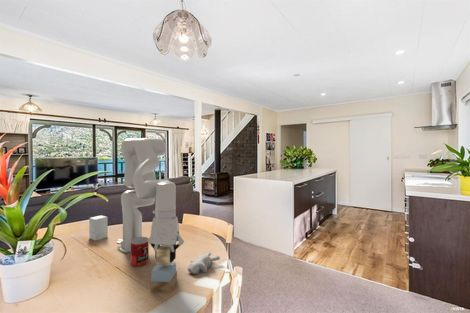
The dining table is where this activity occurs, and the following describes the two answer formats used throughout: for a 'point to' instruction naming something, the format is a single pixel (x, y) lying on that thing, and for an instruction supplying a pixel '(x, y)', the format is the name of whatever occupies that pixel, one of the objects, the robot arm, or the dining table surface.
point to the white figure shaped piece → (201, 263)
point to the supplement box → (98, 227)
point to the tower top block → (163, 273)
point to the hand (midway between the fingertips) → (165, 259)
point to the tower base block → (164, 285)
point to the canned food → (139, 251)
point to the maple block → (163, 255)
